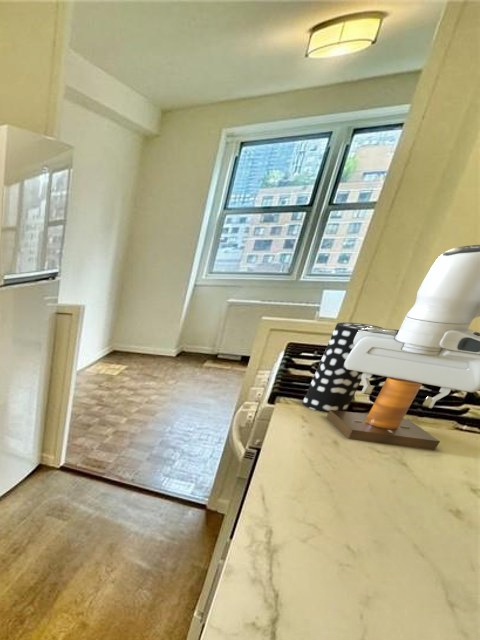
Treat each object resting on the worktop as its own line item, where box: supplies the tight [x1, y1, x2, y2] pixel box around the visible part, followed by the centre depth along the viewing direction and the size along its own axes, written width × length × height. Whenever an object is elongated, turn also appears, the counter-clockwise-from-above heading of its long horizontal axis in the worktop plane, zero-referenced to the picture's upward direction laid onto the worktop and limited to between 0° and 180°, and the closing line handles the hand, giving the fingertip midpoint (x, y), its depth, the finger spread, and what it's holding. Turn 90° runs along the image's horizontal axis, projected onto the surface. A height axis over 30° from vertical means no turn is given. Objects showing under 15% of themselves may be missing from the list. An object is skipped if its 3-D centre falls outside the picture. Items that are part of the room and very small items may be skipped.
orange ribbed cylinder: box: [365, 377, 423, 429], centre depth 101 cm, size 5×5×10 cm
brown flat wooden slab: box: [326, 410, 441, 451], centre depth 104 cm, size 14×12×3 cm
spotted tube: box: [302, 322, 386, 414], centre depth 113 cm, size 8×8×20 cm
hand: (395, 399), depth 101 cm, fingers open, 8 cm apart
